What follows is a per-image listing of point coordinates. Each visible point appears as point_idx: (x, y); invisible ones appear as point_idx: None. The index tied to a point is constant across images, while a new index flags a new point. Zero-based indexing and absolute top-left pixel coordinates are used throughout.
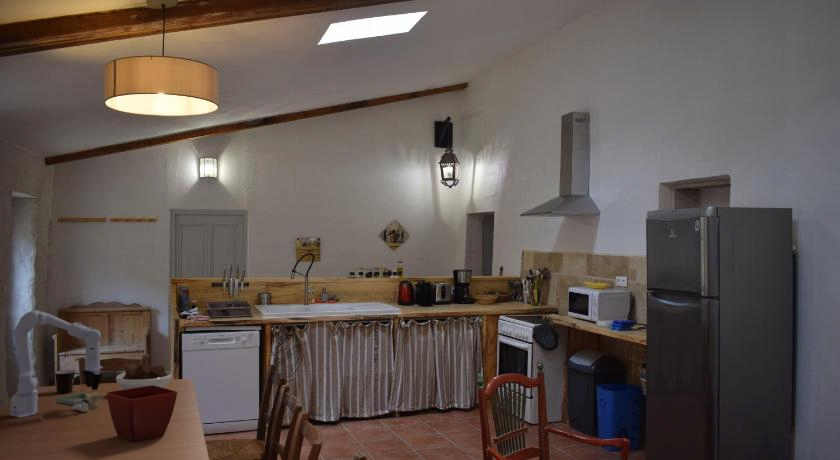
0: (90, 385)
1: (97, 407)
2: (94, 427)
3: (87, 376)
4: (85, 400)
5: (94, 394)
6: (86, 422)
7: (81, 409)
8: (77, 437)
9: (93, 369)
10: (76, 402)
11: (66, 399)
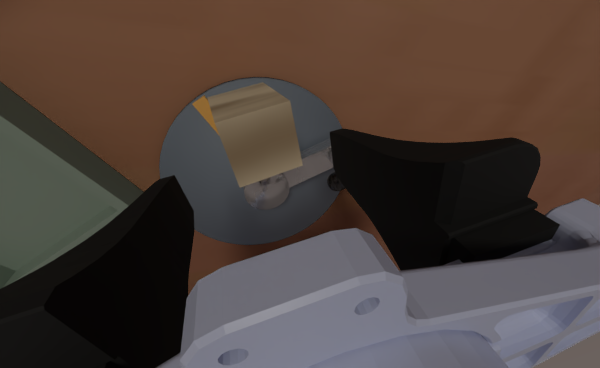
0: (179, 195)
1: (264, 85)
2: (533, 112)
3: (173, 302)
4: None
5: (264, 131)
6: (454, 137)
7: (324, 168)
8: (572, 158)
9: (545, 350)
10: (130, 200)
11: (54, 256)
